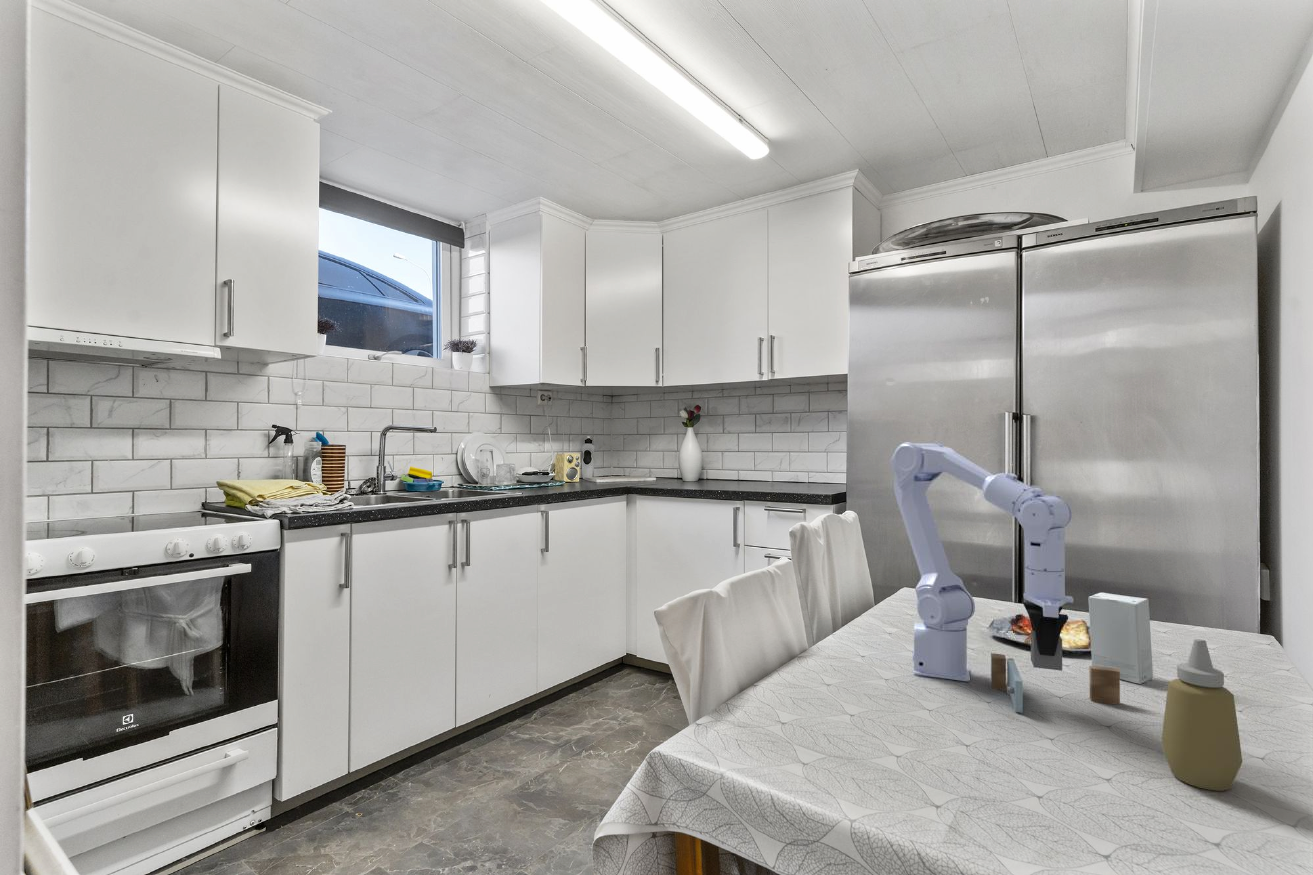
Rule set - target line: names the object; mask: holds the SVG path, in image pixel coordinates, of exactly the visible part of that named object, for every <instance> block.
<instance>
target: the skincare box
mask: <svg viewBox="0 0 1313 875" xmlns="http://www.w3.org/2000/svg"><path fill="white" fill-rule="evenodd" d="M1149 604H1150V601H1149V598H1144V597H1136V596H1128V595H1122V594H1121V595H1120V594H1115V593H1114V594H1113V593H1107V592H1103V591H1102V592H1098V593H1095V594H1092V595H1091V596H1088V615H1089V627H1090V636H1091V651H1090V653H1091V666H1097V667H1105V668H1114V669H1118V670H1119V671H1120V680H1122V681H1126V682H1130V683H1134V684H1139V685H1142V684H1143V683H1145V682H1148V681H1151V680H1153V676H1154V669H1153V652H1152V636H1151V635H1152V634H1151V621H1150V620H1151V619H1150V605H1149Z"/></svg>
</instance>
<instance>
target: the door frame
mask: <svg viewBox="0 0 1313 875" xmlns="http://www.w3.org/2000/svg"><path fill="white" fill-rule="evenodd" d="M1120 681H1121V679H1120V671H1119V670H1118V669H1114V668H1105V667H1097V666H1092V665H1089V699H1090V701H1091V702H1095V703H1104V704H1111V705H1118V706H1120V705H1121V700H1120V699H1121V686H1120V685H1121V682H1120ZM990 685H991V688H992V689H995V690H1001V691H1007V657H1006V655H1005V654H1003V653H994V652H993V653H992V652H991V653H990Z"/></svg>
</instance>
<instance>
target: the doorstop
mask: <svg viewBox="0 0 1313 875" xmlns="http://www.w3.org/2000/svg"><path fill="white" fill-rule="evenodd" d="M1030 662H1031V663H1032V666H1033V668H1037V669H1044V670H1053V671H1061V672H1062V671H1063V651H1062V639H1061V637H1060V636H1059V640H1058V645H1057V649H1056V653H1055V656H1047V655H1040V653H1039V651H1038V647H1037V641H1036V635H1035V631H1032V630H1031V646H1030Z"/></svg>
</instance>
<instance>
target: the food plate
mask: <svg viewBox="0 0 1313 875" xmlns="http://www.w3.org/2000/svg"><path fill="white" fill-rule="evenodd" d="M1031 630H1032V626H1031V622H1030V618H1029V616H1025V615H1024V614H1023V613H1018V614H1016V615H1014V616H1007V617H1000V618H995V619H993V620H992V621H991V623H990V624H989V626H988V627H987V631H988V632H989V633H990V634H992V635H993V636H995V637H999V638H1004V639H1006V640H1008V641H1013V642H1015V641H1016V642H1015V643H1018V644H1021V645H1024V646H1028V647H1031ZM1000 631H1005V632H1003V633H1002V632H1000ZM1008 631H1013V633H1015V634H1014V635H1017V636H1016V637H1015V638H1016V639H1015V638H1013V637H1008V635H1007V634H1005V633H1008ZM1014 635H1013V636H1014ZM1018 636H1019V638H1018ZM1060 637H1061V639H1062V653H1073V654H1082V653H1085V652H1087V653H1088V652H1091V636H1090V625H1089V626H1088V624H1087V622H1086V621H1085V620H1075V621H1074V620H1073V621H1072V620H1071V621H1067V622H1066V623H1065V625H1064V627H1063V629H1062V631H1061V633H1060ZM1019 639H1020V640H1019Z"/></svg>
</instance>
